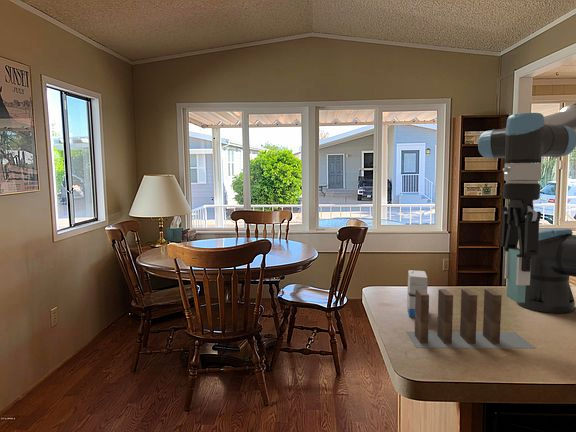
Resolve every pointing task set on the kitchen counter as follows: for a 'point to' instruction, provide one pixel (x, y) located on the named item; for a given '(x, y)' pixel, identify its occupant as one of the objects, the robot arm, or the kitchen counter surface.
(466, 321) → the tile
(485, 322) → the tile
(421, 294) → the tile
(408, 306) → the ink box
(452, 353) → the kitchen counter surface
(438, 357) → the kitchen counter surface
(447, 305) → the tile
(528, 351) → the kitchen counter surface
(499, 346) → the mat
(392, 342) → the kitchen counter surface
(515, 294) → the teal tile
